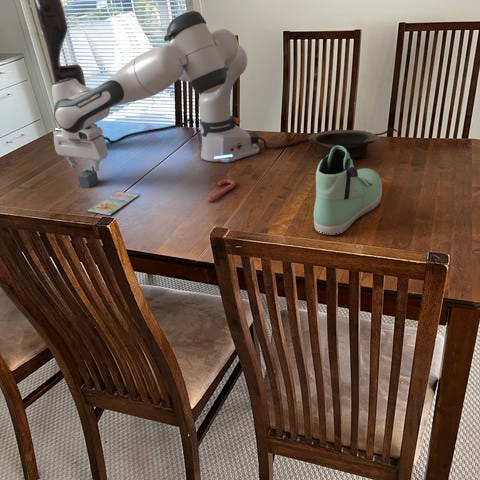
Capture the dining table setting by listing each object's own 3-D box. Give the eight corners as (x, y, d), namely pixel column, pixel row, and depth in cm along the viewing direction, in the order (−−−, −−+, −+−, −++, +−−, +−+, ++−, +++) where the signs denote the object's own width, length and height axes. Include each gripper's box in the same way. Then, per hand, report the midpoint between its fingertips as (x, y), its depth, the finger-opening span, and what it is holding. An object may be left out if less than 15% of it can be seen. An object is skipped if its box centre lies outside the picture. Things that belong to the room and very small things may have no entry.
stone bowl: (336, 174, 158) (335, 147, 154) (295, 157, 179) (293, 133, 174) (394, 156, 167) (394, 130, 163) (348, 141, 187) (348, 118, 183)
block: (80, 186, 166) (77, 175, 164) (89, 180, 170) (86, 169, 168) (89, 187, 164) (86, 176, 162) (98, 182, 168) (96, 171, 166)
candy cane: (196, 199, 151) (195, 195, 150) (224, 181, 161) (224, 177, 160) (211, 203, 148) (210, 199, 147) (239, 184, 158) (238, 180, 157)
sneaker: (389, 187, 148) (396, 123, 138) (356, 242, 123) (361, 168, 112) (346, 181, 154) (350, 119, 144) (306, 232, 129) (307, 161, 118)
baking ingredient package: (86, 209, 148) (117, 190, 160) (87, 211, 148) (117, 191, 160) (109, 214, 145) (139, 194, 156) (109, 215, 145) (139, 195, 156)
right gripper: (45, 130, 158) (56, 169, 166) (92, 135, 150) (102, 176, 157) (58, 124, 163) (69, 162, 170) (106, 129, 155) (114, 169, 162)
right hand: (85, 169), depth 164 cm, fingers open, 8 cm apart
